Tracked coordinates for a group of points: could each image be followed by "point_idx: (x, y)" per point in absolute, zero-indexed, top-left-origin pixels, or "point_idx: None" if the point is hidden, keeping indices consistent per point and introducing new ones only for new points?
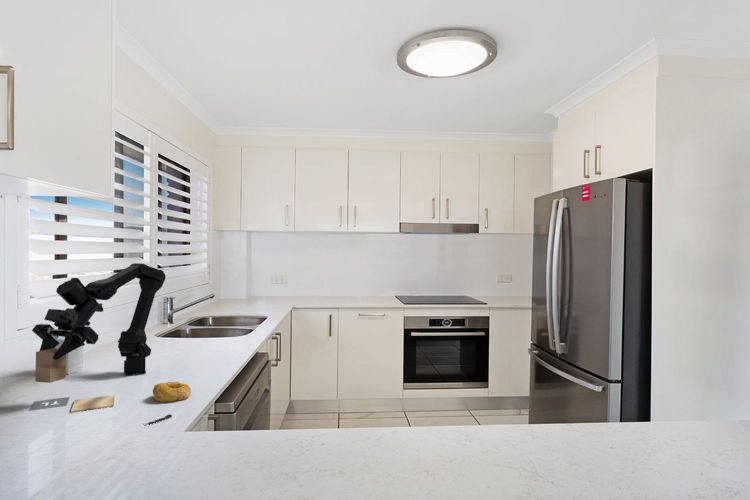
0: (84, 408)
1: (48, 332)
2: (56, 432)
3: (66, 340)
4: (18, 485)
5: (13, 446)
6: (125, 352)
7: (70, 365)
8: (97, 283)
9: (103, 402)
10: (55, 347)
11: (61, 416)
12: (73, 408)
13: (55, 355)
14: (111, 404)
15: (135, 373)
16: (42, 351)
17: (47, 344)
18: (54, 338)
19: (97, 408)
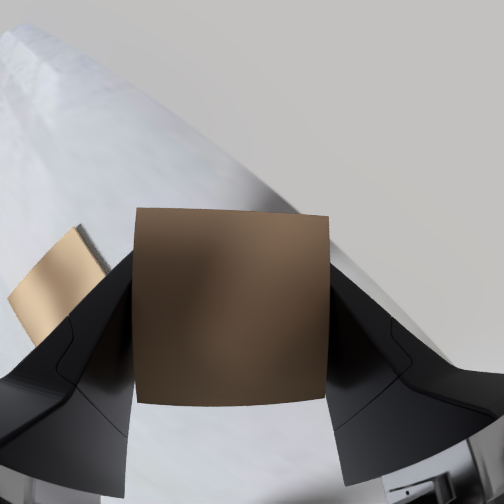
0: (52, 254)
1: (481, 447)
2: (38, 123)
3: (34, 387)
4: (20, 29)
5: (79, 61)
6: None
7: None
8: None
9: (41, 315)
10: None
11: (84, 200)
12: (81, 247)
13: (130, 258)
14: (13, 301)
15: None
16: (282, 245)
17: (362, 367)
18: (394, 477)
19: (31, 272)
